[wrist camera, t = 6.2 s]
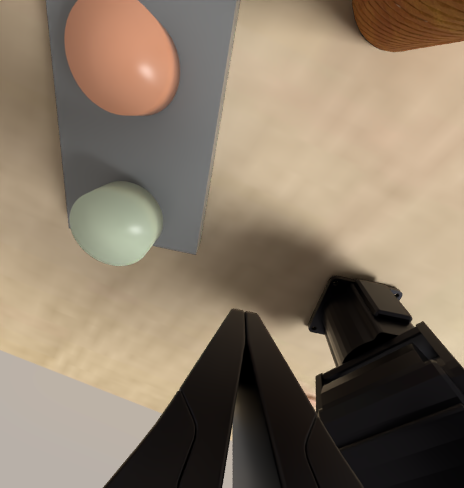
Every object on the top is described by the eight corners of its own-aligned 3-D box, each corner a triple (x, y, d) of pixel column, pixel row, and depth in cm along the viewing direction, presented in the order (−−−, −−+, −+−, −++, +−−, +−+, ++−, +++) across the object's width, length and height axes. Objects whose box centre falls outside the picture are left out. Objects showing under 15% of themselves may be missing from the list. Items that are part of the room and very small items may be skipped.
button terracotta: (175, 124, 16) (163, 125, 13) (95, 105, 15) (69, 103, 13) (184, 21, 13) (172, 3, 11) (91, -1, 13) (58, -26, 11)
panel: (200, 243, 22) (195, 254, 20) (84, 219, 21) (69, 228, 19) (273, -204, 11) (278, -264, 9) (49, -267, 11) (10, -341, 9)
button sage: (160, 254, 19) (148, 272, 17) (93, 240, 19) (73, 257, 16) (166, 190, 17) (153, 201, 14) (90, 173, 16) (65, 182, 14)
